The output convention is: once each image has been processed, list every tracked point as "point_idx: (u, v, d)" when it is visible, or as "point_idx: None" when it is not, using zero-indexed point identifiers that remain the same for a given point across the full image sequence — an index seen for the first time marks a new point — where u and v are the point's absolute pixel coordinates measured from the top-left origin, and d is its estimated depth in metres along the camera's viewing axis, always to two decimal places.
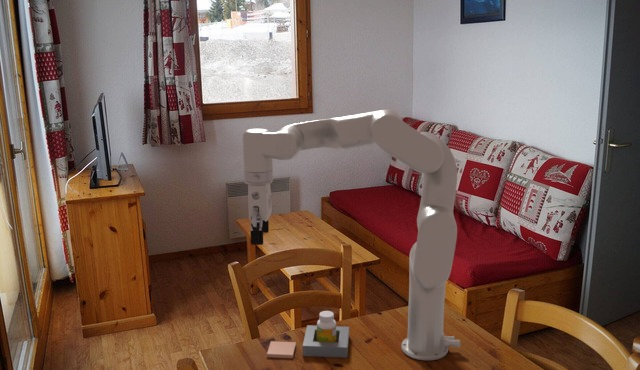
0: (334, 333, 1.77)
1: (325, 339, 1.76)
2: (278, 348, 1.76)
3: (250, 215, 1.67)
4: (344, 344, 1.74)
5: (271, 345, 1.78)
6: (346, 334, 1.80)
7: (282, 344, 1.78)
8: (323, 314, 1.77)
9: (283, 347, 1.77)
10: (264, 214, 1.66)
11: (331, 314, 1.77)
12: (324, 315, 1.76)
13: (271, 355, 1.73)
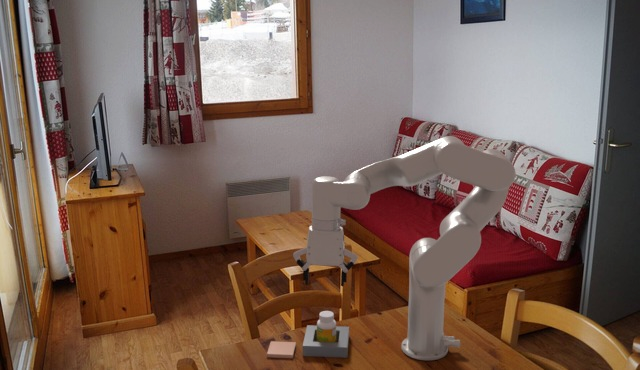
0: (334, 333, 1.77)
1: (325, 339, 1.76)
2: (278, 348, 1.76)
3: (343, 259, 1.71)
4: (344, 344, 1.74)
5: (271, 345, 1.78)
6: (346, 334, 1.80)
7: (282, 344, 1.78)
8: (323, 314, 1.77)
9: (283, 347, 1.77)
10: None
11: (331, 314, 1.77)
12: (324, 315, 1.76)
13: (271, 355, 1.73)
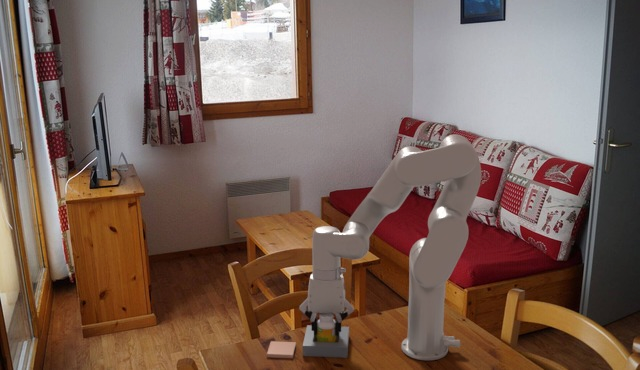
0: (334, 333, 1.77)
1: (325, 339, 1.76)
2: (278, 348, 1.76)
3: None
4: (344, 344, 1.74)
5: (271, 345, 1.78)
6: (346, 334, 1.80)
7: (282, 344, 1.78)
8: (323, 314, 1.77)
9: (283, 347, 1.77)
10: None
11: (331, 314, 1.77)
12: (323, 315, 1.76)
13: (271, 355, 1.73)
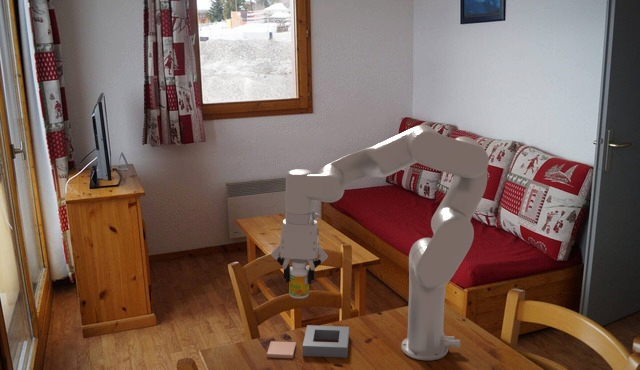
0: (307, 281, 1.71)
1: (297, 286, 1.71)
2: (278, 348, 1.76)
3: None
4: (344, 344, 1.74)
5: (271, 345, 1.78)
6: (346, 334, 1.80)
7: (282, 344, 1.78)
8: (296, 261, 1.71)
9: (283, 347, 1.77)
10: None
11: (304, 261, 1.71)
12: (296, 261, 1.71)
13: (271, 355, 1.73)
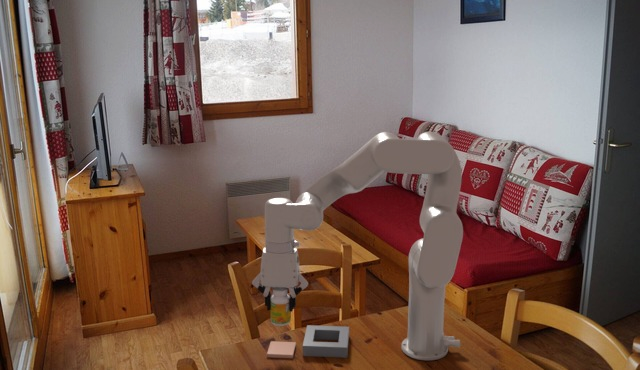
0: (288, 308, 1.72)
1: (278, 314, 1.71)
2: (278, 348, 1.76)
3: None
4: (344, 344, 1.74)
5: (271, 345, 1.78)
6: (346, 334, 1.80)
7: (282, 344, 1.78)
8: (276, 289, 1.72)
9: (283, 347, 1.77)
10: None
11: (285, 289, 1.72)
12: (277, 289, 1.71)
13: (271, 355, 1.73)
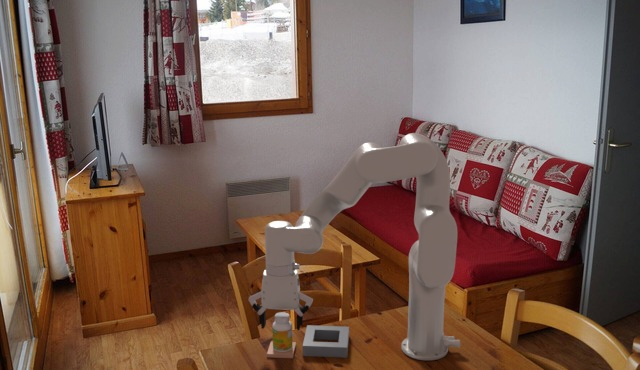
0: (290, 335, 1.74)
1: (280, 341, 1.73)
2: None
3: (298, 303, 1.71)
4: (344, 344, 1.74)
5: (271, 345, 1.78)
6: (346, 334, 1.80)
7: None
8: (278, 316, 1.74)
9: None
10: None
11: (286, 316, 1.74)
12: (279, 316, 1.73)
13: (271, 355, 1.73)
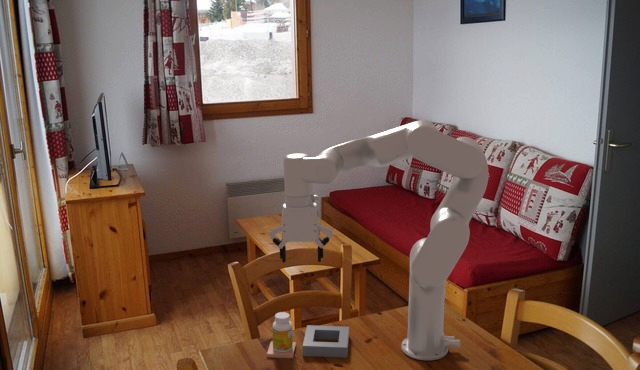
0: (290, 335, 1.74)
1: (280, 341, 1.73)
2: None
3: (318, 234, 1.72)
4: (344, 344, 1.74)
5: (271, 345, 1.78)
6: (346, 334, 1.80)
7: None
8: (279, 315, 1.74)
9: None
10: None
11: (287, 315, 1.74)
12: (279, 316, 1.73)
13: (271, 355, 1.73)
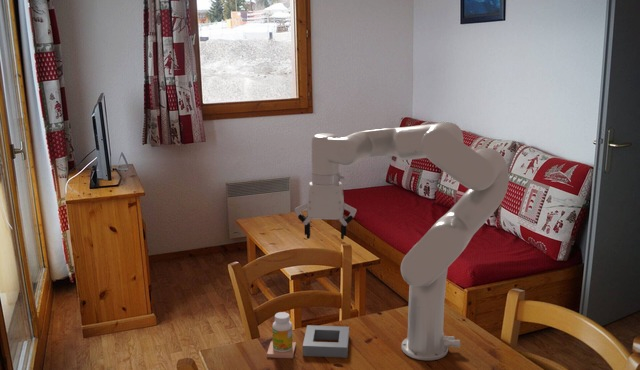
0: (290, 335, 1.74)
1: (280, 341, 1.73)
2: None
3: (342, 212, 1.78)
4: (344, 344, 1.74)
5: (271, 345, 1.78)
6: (346, 334, 1.80)
7: None
8: (278, 315, 1.74)
9: None
10: None
11: (286, 315, 1.74)
12: (279, 316, 1.73)
13: (271, 355, 1.73)
